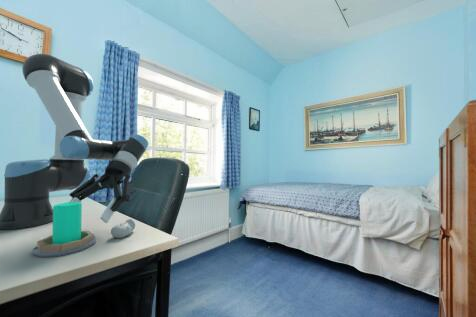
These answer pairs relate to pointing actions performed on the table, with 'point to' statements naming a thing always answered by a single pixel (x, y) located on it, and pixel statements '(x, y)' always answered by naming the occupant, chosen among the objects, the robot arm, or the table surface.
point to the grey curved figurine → (123, 229)
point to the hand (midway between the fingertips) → (83, 219)
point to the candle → (66, 222)
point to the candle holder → (63, 246)
